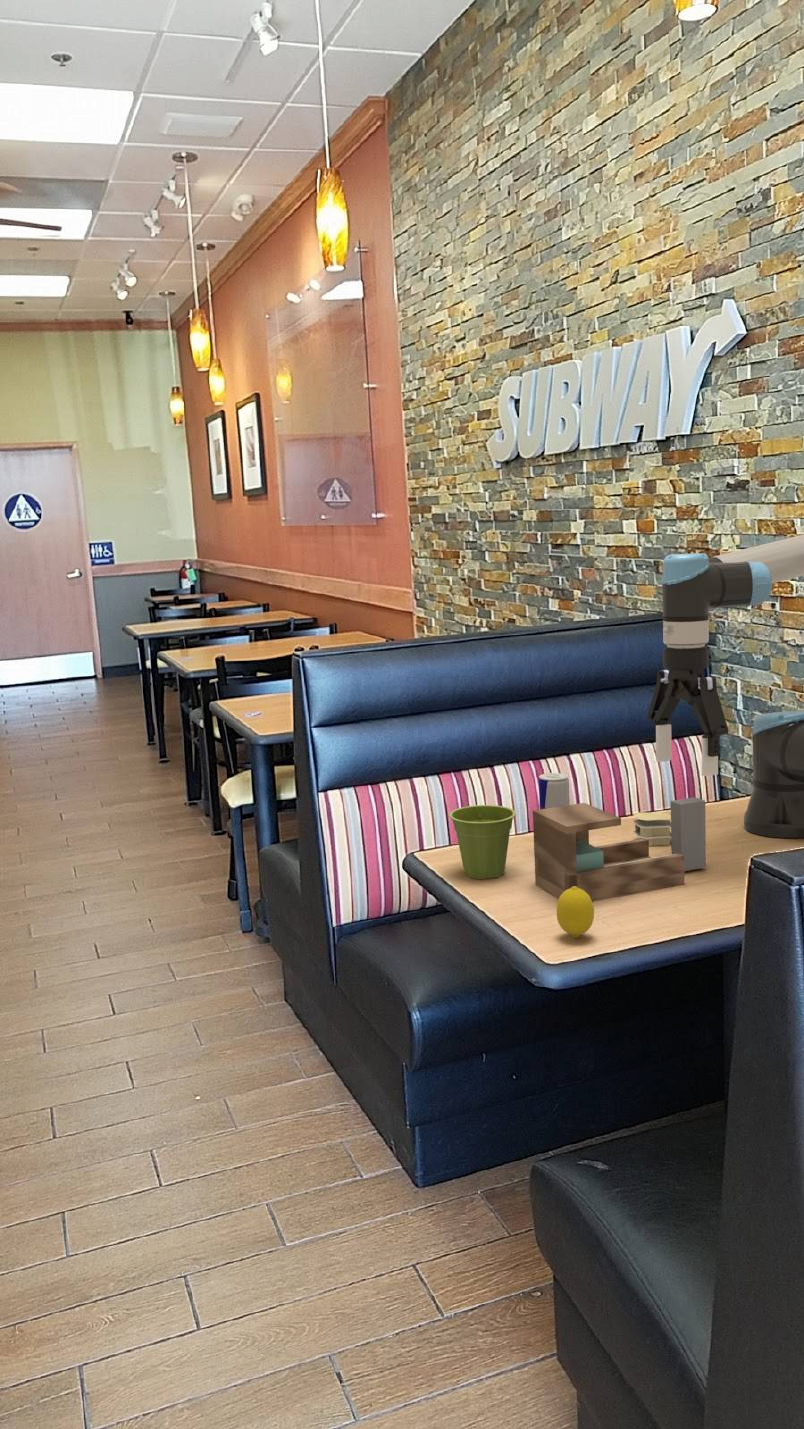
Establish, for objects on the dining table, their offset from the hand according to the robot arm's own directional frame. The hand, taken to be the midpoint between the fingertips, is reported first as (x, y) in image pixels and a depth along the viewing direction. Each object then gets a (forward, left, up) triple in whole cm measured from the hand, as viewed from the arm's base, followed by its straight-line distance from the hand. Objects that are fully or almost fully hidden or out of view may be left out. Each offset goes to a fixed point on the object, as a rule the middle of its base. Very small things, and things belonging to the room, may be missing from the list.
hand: (686, 767), depth 190 cm
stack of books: (-4, -18, -19) cm, 26 cm away
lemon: (+33, +19, -19) cm, 42 cm away
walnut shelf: (+16, 0, -18) cm, 24 cm away
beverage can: (+15, -21, -19) cm, 32 cm away
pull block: (+11, 0, -18) cm, 21 cm away
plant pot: (+32, -16, -19) cm, 40 cm away
